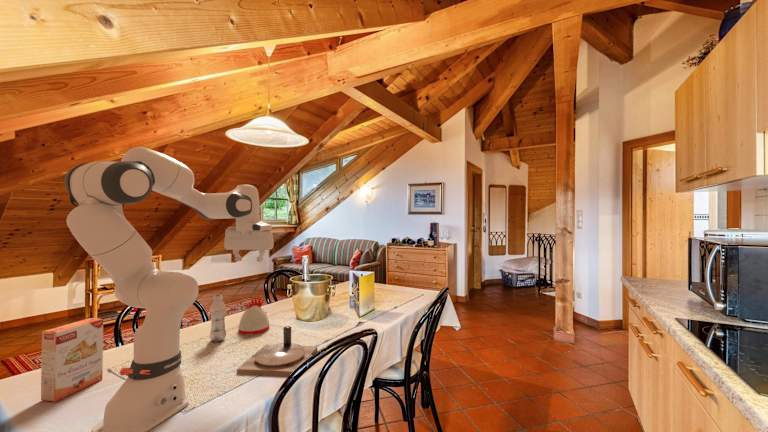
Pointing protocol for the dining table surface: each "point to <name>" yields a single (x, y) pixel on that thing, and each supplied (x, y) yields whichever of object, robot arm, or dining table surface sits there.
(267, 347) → the dial
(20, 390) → the dining table surface
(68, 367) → the cracker box
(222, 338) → the plastic bottle
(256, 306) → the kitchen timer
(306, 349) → the dial base
